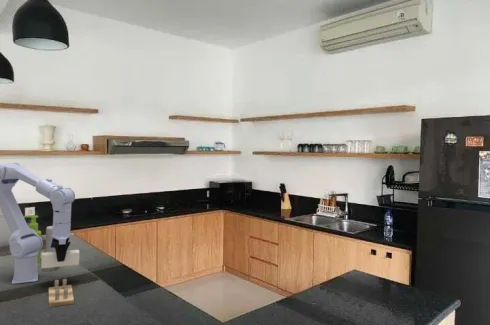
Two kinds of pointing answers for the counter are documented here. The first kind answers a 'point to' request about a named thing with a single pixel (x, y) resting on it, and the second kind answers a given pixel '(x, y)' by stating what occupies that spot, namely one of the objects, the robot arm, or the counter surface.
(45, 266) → the white rectangular block
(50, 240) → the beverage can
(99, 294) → the counter surface
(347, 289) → the counter surface
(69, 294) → the peg stand
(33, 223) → the soap dispenser
